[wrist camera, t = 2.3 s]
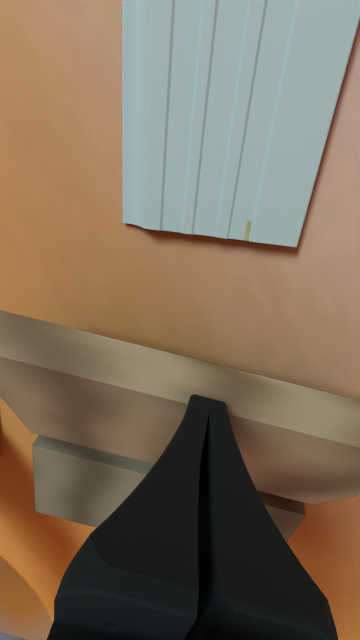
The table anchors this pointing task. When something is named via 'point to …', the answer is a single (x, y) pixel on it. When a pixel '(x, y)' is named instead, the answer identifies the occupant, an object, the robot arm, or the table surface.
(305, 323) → the table surface
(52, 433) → the plank
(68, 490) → the floor panel
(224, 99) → the baseboard
